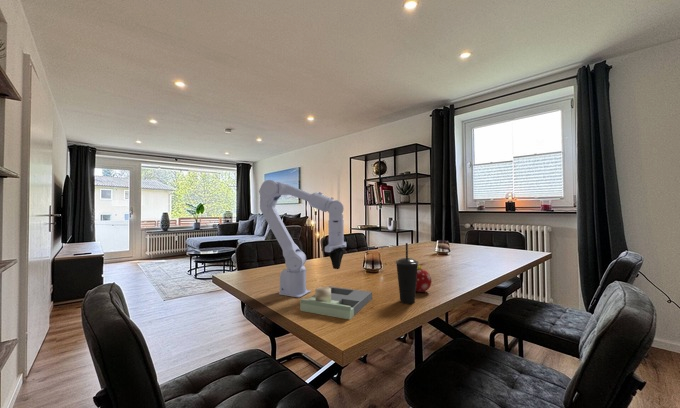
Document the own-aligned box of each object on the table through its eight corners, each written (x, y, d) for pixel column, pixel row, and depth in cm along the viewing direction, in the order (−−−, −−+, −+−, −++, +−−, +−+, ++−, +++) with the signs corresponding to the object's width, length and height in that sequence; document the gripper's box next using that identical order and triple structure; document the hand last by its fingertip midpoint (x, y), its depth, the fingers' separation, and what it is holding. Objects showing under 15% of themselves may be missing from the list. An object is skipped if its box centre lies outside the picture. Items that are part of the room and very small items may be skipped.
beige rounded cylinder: (312, 303, 88) (312, 290, 88) (320, 298, 93) (320, 286, 93) (326, 305, 86) (326, 292, 86) (333, 300, 90) (333, 287, 90)
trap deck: (300, 310, 88) (300, 299, 88) (329, 292, 106) (329, 283, 106) (349, 319, 81) (349, 307, 81) (372, 298, 99) (372, 288, 99)
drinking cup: (398, 296, 101) (397, 241, 101) (420, 299, 98) (419, 242, 98) (394, 303, 94) (393, 244, 94) (417, 306, 91) (416, 245, 91)
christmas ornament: (406, 288, 111) (405, 263, 111) (427, 288, 111) (427, 263, 111) (411, 295, 102) (410, 267, 102) (434, 295, 102) (434, 267, 102)
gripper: (337, 234, 97) (337, 273, 97) (353, 231, 110) (353, 265, 110) (319, 234, 100) (319, 272, 100) (337, 230, 113) (337, 264, 113)
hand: (336, 268), depth 105 cm, fingers closed
